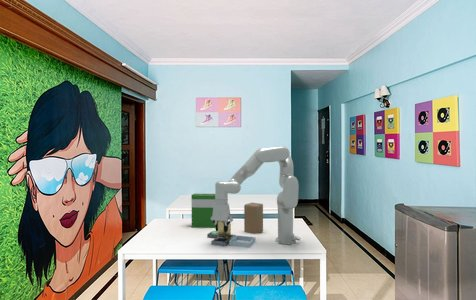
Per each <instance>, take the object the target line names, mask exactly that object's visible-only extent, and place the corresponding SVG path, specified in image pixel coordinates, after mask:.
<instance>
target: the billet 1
mask: <svg viewBox="0 0 476 300" xmlns="http://www.w3.org/2000/svg"><path fill="white" fill-rule="evenodd" d="M224 226H225V222H224V221H218V231H217V232H218V237H225V236H226V232H224Z"/></svg>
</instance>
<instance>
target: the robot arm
mask: <svg viewBox="0 0 476 300" xmlns="http://www.w3.org/2000/svg"><path fill="white" fill-rule="evenodd" d="M290 153H291V152H290V150H289V149H288V148H287V147H286V146H279V145H278V146H275V147H269V148H268V147H266V148H265V147H264V148H263V147H262V148H257V149H256V150H255V151H254V152H253V154H252V155H251V156H250V157H249V158H248V160H247V161H245V163H244V164H243V165H242V166H241V167H240V168H239V169H238V170H237V171H236V172H235V173H234V174H233V175H232V176H231V177H230V178H229V180H228V181H224V180H219V181H216V182H215V185H214V187H215V188H214V189H215V190H214V191H215V192H214V194H215V199H214V200H213V201H215V204H214V207H213V216H212V217H211V218H210V219H211V220H212V221H213V222H214V224H215V228H214V229H215V231H216V232H218V221H224V222H225V226H224V232H227V231H228V225H229V224H230V223H232V222H233V221H234V219H233V218H232V216H231V208H230V204H229V202H228V200H229V199H228V196H229V195H228V194H233V195H236V194H238V193H240V192H241V190H242V186H241V185H242V184H243V183H244V182H245V181H246V179H249V178H250V177H252V176H254V174H256V173H257V171H258V170H259V169H260V167H261V166H262V165H264V164H265V163H273V162H274V163H275V162H278V164H279V178H278V182H279V183H278V184H279V186H280V188H282V191H280V192H279V193H278V194H277V196H276V204H277V206H276V207H277V237H276V238H275V242H276V243H278V244H281V245H292V244H295V243H296V241H298V242H300V241H301V237H299V236H296V235H295V233H294V209H295V208H296V207H297V205H298V202H299V187H300V185H299V180H298V178H297V176H295V175H294V162H293V158H292V157H291V155H290Z"/></svg>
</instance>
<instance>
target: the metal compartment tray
mask: <svg viewBox="0 0 476 300" xmlns="http://www.w3.org/2000/svg"><path fill="white" fill-rule="evenodd" d="M236 235H237V234H231V238H223V237H217V238H213V239H212V240H211V241H210V245H211V246H220V247H227V246H228V245H229V241H230V240H231V239H232V238H234V237H235V236H236Z"/></svg>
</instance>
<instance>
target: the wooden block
mask: <svg viewBox="0 0 476 300" xmlns="http://www.w3.org/2000/svg"><path fill="white" fill-rule="evenodd" d="M243 208H244V210H243V215H244V216H243V219H244V221H243V223H244V227H243V228H244V231H243V232H244V233H249V234H253V235H257V234H261V233H263V232H264V204H263V203H258V202H249V203H246V204H244V206H243Z"/></svg>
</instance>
